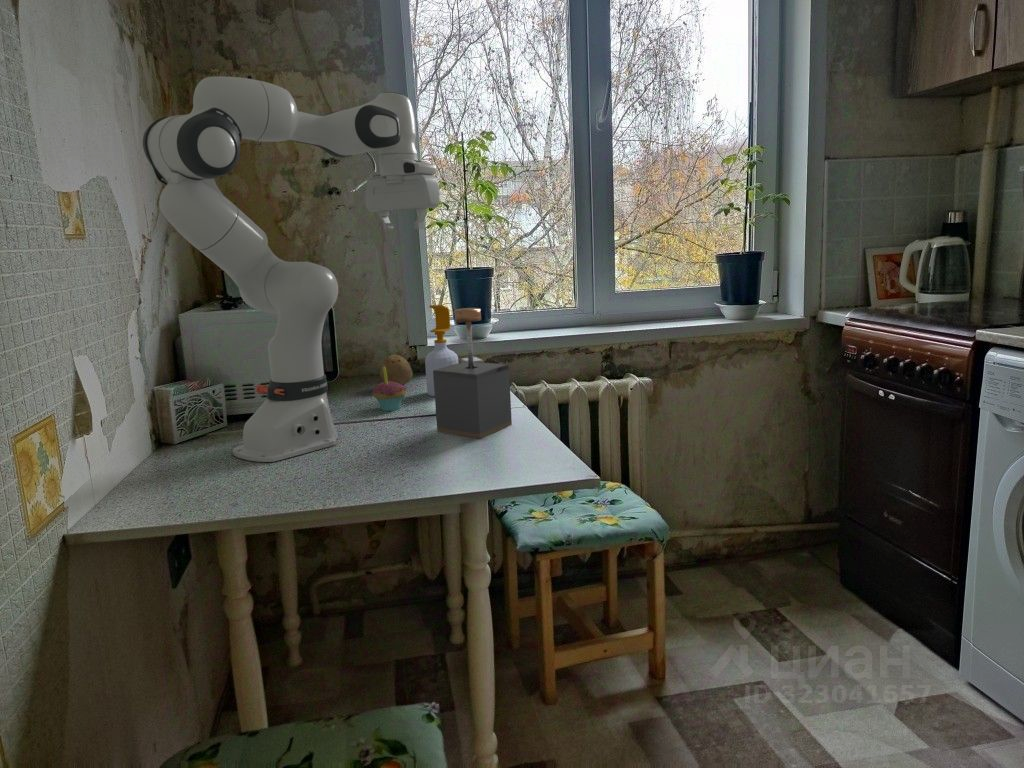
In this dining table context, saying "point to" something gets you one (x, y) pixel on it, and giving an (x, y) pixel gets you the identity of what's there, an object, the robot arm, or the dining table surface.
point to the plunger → (468, 328)
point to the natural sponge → (396, 369)
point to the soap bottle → (439, 347)
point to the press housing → (472, 399)
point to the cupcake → (389, 394)
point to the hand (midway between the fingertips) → (403, 230)
